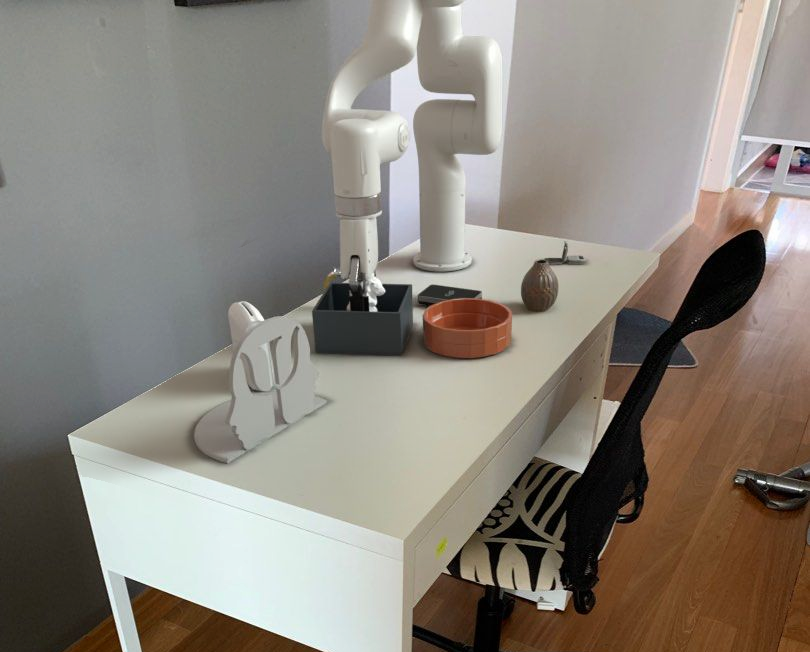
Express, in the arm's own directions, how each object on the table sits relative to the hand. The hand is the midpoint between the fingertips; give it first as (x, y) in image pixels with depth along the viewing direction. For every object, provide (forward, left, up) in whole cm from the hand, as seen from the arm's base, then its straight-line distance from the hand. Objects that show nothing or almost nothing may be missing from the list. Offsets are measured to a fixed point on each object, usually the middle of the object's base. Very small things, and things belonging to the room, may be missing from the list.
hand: (364, 310), depth 149 cm
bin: (0, 0, -5) cm, 5 cm away
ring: (-14, -7, -5) cm, 16 cm away
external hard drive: (-18, +13, -5) cm, 23 cm away
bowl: (0, +18, -5) cm, 19 cm away
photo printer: (+18, -15, -5) cm, 24 cm away
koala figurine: (+1, 0, -4) cm, 4 cm away
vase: (-17, +30, -5) cm, 35 cm away
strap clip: (-44, +35, -5) cm, 56 cm away
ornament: (+32, -12, -5) cm, 35 cm away
